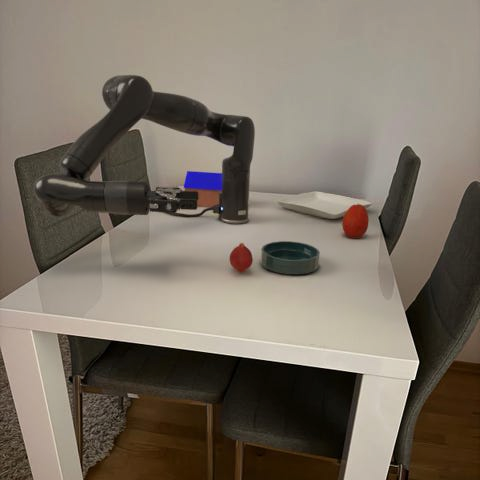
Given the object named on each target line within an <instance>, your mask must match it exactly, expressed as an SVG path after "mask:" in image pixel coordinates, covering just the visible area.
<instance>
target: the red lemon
mask: <svg viewBox="0 0 480 480" xmlns="http://www.w3.org/2000/svg"><path fill="white" fill-rule="evenodd" d="M253 261H254V258H253V254H252V252H251V250H250V248H248V247H247V246H246V245H245V243H244V242H240V243H239V244H238V245H237V246H235V247H234V248H233V249H232V250H231V252H230V254H229V264H230V266H231V267H232V268H233V269H234V270H235V271H237V273H239V274H243V273H244V272H245V271H247V270H249V269H250V267H251V266H252V264H253Z"/></svg>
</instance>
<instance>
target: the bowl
mask: <svg viewBox="0 0 480 480" xmlns="http://www.w3.org/2000/svg"><path fill="white" fill-rule="evenodd" d="M260 251H261V252H260V264H261V266H262V267H264V268H265V269H266V270H268V271H271V272H275V273H278V274H285V275H305V274H309V273H312V272H315V271H316V270H317V269H318V268H319V264H320V263H319V262H320V256H321V251H320V250H319V248H318V247H317V248H316V247H315V246H313V245H310V244H308V243H304V242H299V241H290V240H287V241H286V240H285V241H283V240H282V241H281V240H280V241H272V242H268V243H266V244H264V245H262V247H261V249H260Z"/></svg>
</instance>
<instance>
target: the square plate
mask: <svg viewBox="0 0 480 480" xmlns="http://www.w3.org/2000/svg"><path fill="white" fill-rule="evenodd" d="M275 203H277V205H279V206H281V207H282V208H285V209H289V210H291V211H292V212H296V213H301V214H304V215H310V216H312V217H317V218H322V219H328V220H337V219H340V218H343V217H344V215H345V213H346V212H347V210H348V209H349V208H350V207H351V206H352V205H358V204H361V205H363V206H364V207H365V209H366V210H367V209H368V208H369V207H371V206H372V205H373V204H374V202H372V201H367V200H362V199H358V198H354V197H349V196H345V195H340V194H336V193H335V194H334V193H328V192H323V191H318V190H317V191H315V190H314V191H310V192H303V193H298V194H293V195H290V196H286V197H283V198H279V199H275Z"/></svg>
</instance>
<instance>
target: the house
mask: <svg viewBox="0 0 480 480" xmlns="http://www.w3.org/2000/svg"><path fill="white" fill-rule="evenodd" d="M183 188H184V191H198V200H197V207H203V208H210V207H213V206H214V205H217V204H219V192H220V191H222V172H208V171H195V170H194V171H193V170H187V171H186V175H185V178H184V183H183Z"/></svg>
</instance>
